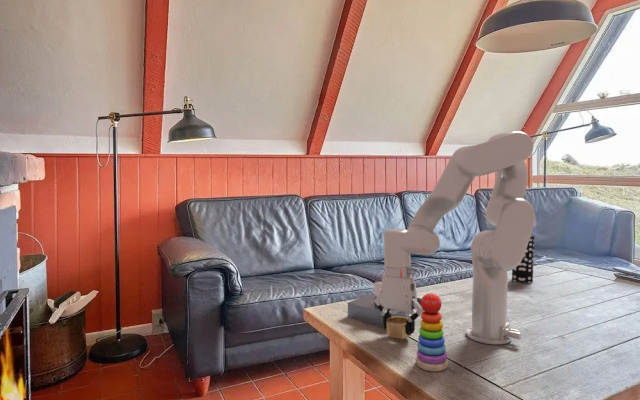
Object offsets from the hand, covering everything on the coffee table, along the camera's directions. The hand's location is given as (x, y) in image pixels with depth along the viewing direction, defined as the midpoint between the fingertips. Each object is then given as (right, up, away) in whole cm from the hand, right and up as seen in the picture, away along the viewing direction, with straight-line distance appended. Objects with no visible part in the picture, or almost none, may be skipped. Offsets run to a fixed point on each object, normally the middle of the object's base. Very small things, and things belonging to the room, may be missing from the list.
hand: (398, 330), depth 127 cm
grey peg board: (-3, -1, +17) cm, 17 cm away
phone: (+12, 0, +33) cm, 35 cm away
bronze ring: (0, -1, 0) cm, 1 cm away
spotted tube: (+66, +3, +63) cm, 91 cm away
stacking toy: (+5, -4, -17) cm, 18 cm away
